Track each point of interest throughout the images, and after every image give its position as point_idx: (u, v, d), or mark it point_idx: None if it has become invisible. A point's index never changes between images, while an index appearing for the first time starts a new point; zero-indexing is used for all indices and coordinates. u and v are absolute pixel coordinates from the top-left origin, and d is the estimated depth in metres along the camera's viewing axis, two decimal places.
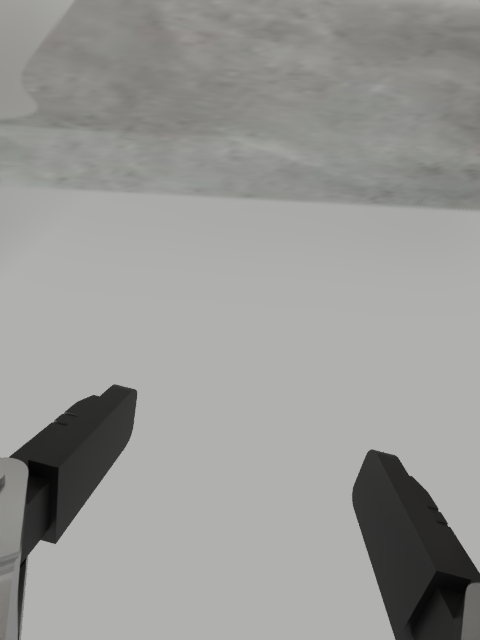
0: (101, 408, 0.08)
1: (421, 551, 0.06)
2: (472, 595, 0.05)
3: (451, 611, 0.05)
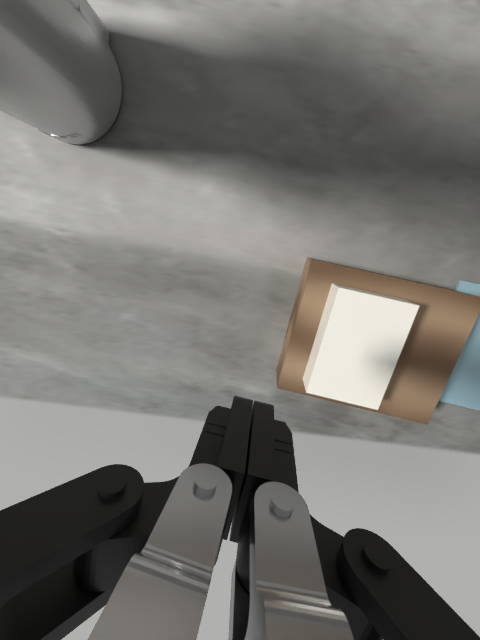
0: (240, 418, 0.09)
1: (247, 465, 0.07)
2: (259, 499, 0.06)
3: (251, 502, 0.06)
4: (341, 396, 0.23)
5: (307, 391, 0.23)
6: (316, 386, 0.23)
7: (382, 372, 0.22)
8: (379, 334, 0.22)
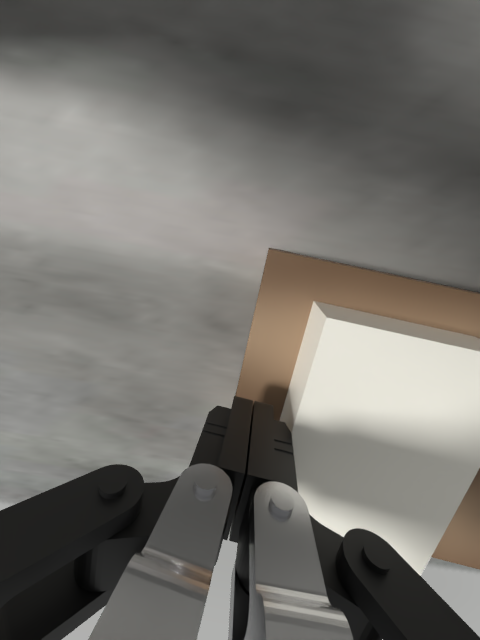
0: (240, 418, 0.09)
1: (247, 465, 0.07)
2: (258, 499, 0.06)
3: (250, 502, 0.06)
4: None
5: None
6: None
7: (430, 510, 0.10)
8: (427, 430, 0.09)
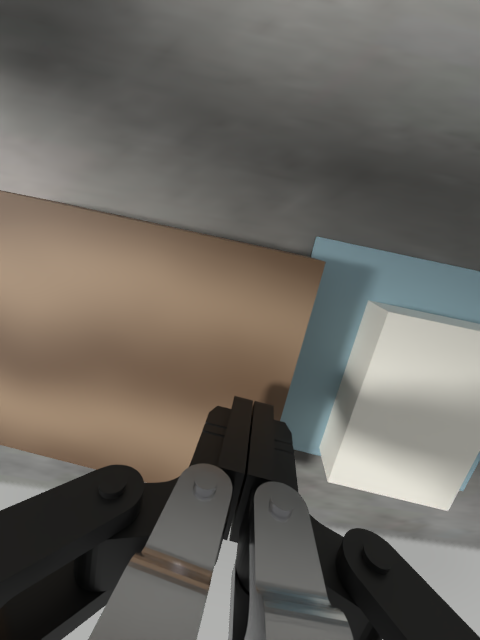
0: (240, 418, 0.09)
1: (247, 464, 0.07)
2: (259, 499, 0.06)
3: (250, 502, 0.06)
4: None
5: None
6: None
7: None
8: None
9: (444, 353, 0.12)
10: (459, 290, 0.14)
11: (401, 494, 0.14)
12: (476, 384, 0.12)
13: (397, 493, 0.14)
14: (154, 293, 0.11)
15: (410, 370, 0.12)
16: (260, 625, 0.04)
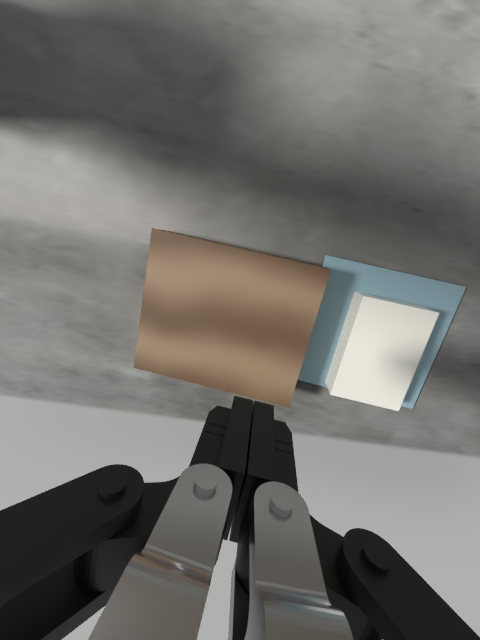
0: (240, 418, 0.09)
1: (247, 465, 0.07)
2: (259, 499, 0.06)
3: (250, 502, 0.06)
4: None
5: None
6: None
7: None
8: None
9: (392, 318, 0.23)
10: (405, 286, 0.24)
11: (372, 401, 0.24)
12: (410, 335, 0.23)
13: (369, 400, 0.24)
14: (242, 284, 0.22)
15: (375, 328, 0.23)
16: (260, 625, 0.04)
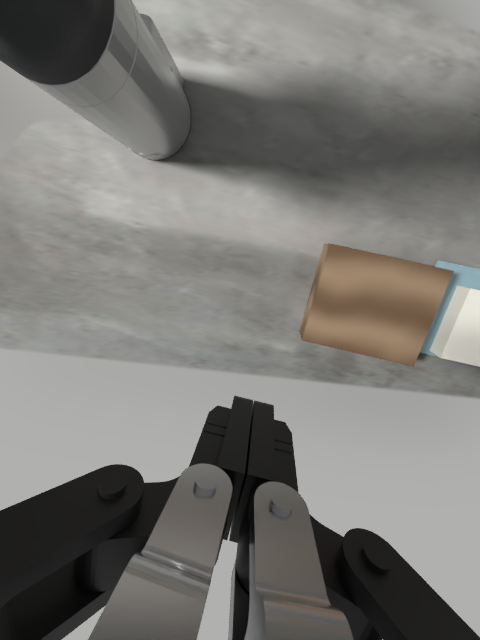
0: (240, 418, 0.09)
1: (247, 464, 0.07)
2: (259, 499, 0.06)
3: (250, 502, 0.06)
4: None
5: None
6: None
7: None
8: None
9: None
10: None
11: (470, 362, 0.35)
12: None
13: (468, 361, 0.35)
14: (390, 281, 0.33)
15: (477, 310, 0.34)
16: (260, 625, 0.04)
